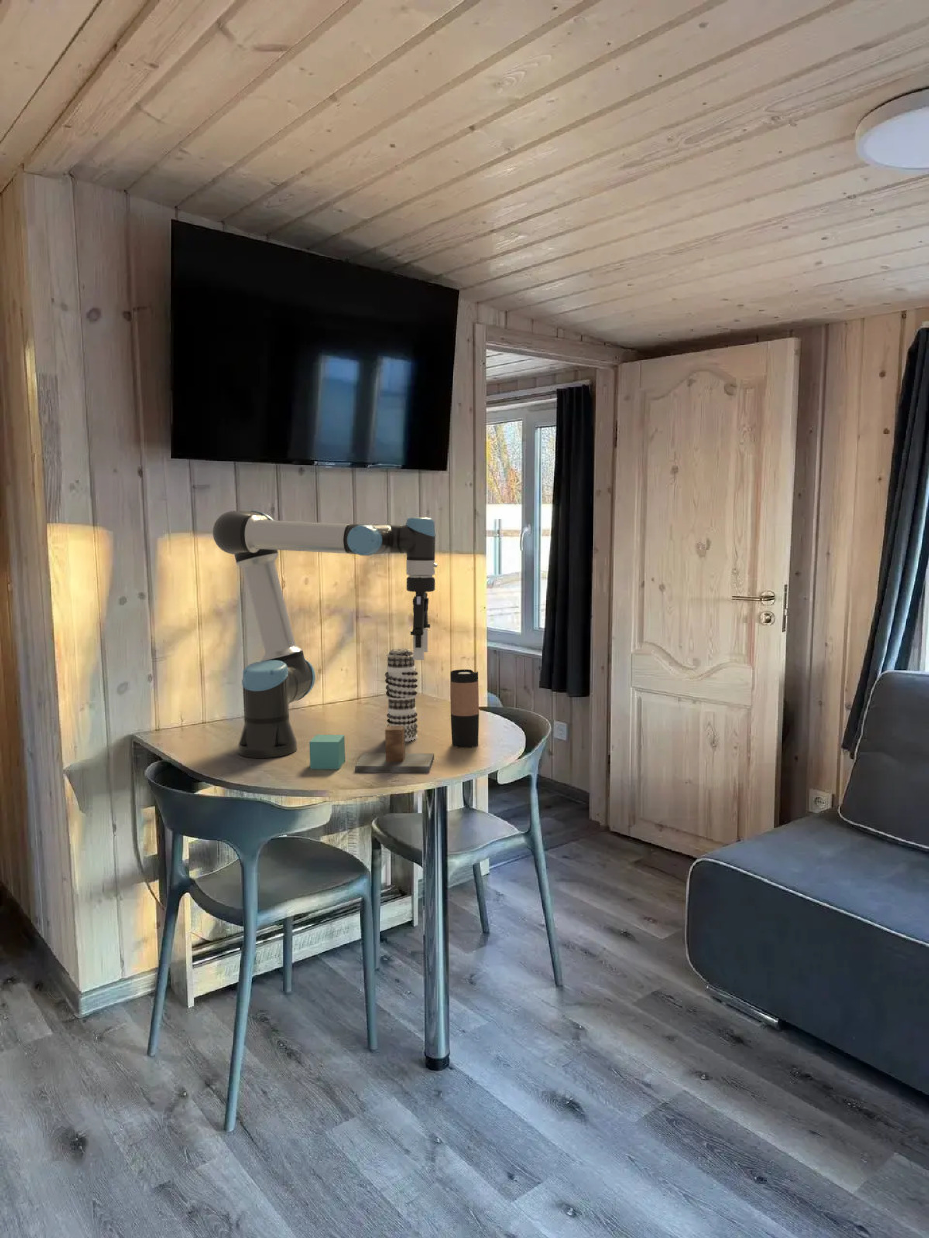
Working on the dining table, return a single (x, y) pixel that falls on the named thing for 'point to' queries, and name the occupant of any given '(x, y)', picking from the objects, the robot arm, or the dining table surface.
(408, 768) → the grey base with post
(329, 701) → the dining table surface
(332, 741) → the mint green cube
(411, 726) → the decorative candle
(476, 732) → the travel mug
